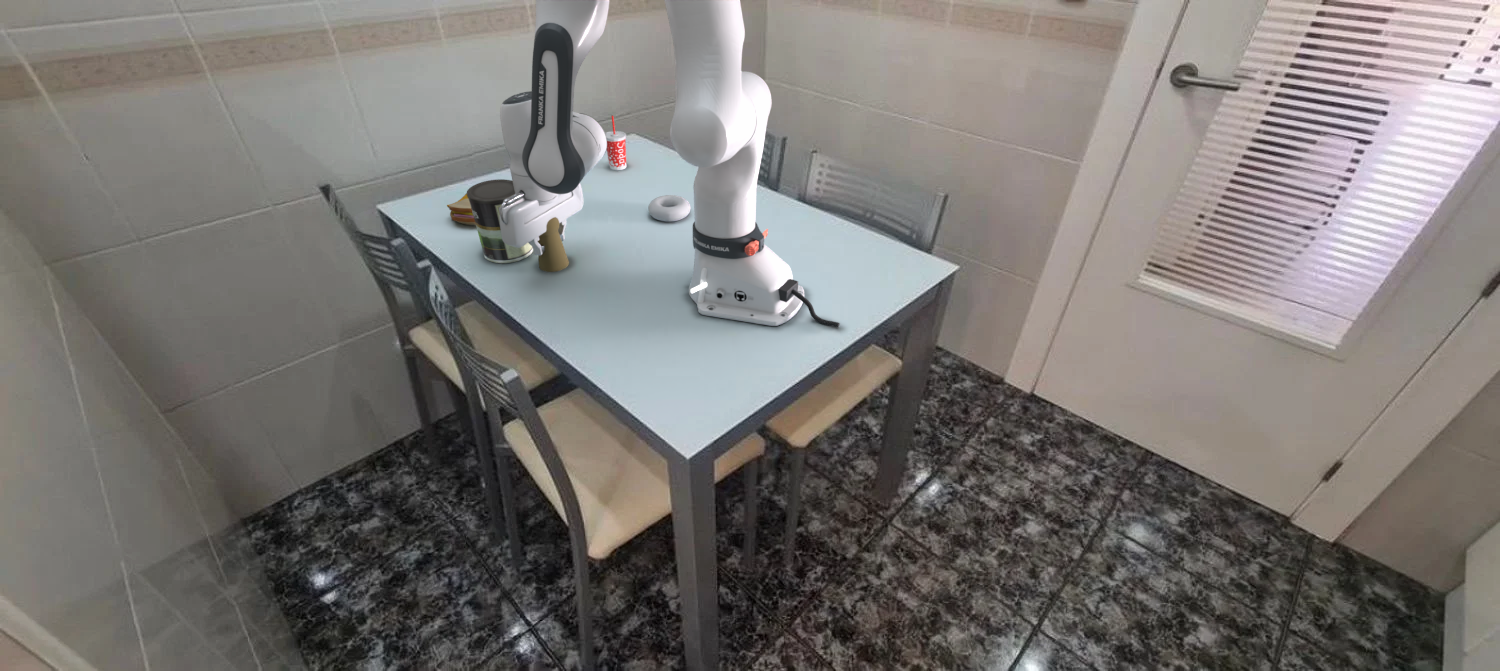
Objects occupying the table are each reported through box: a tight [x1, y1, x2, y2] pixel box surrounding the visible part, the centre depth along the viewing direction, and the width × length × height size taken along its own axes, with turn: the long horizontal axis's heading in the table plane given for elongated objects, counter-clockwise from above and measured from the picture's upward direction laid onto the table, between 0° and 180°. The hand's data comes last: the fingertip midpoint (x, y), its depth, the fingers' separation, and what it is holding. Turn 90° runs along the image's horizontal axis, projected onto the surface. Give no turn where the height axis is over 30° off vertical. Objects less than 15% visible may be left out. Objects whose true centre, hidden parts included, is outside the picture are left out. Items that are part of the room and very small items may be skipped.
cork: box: [537, 217, 570, 273], centre depth 123 cm, size 6×6×11 cm
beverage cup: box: [605, 115, 627, 171], centre depth 165 cm, size 6×6×14 cm
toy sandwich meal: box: [446, 192, 476, 226], centre depth 142 cm, size 12×14×5 cm
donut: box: [648, 194, 692, 222], centre depth 145 cm, size 10×4×10 cm
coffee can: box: [466, 178, 534, 264], centre depth 126 cm, size 10×10×14 cm
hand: (550, 247), depth 124 cm, fingers closed on cork, 5 cm apart
